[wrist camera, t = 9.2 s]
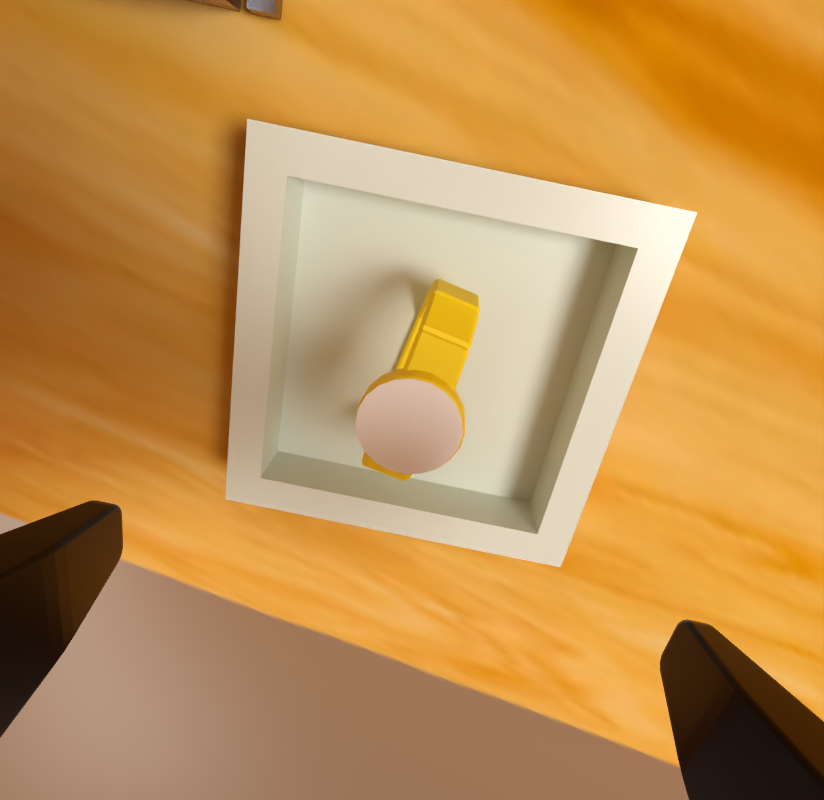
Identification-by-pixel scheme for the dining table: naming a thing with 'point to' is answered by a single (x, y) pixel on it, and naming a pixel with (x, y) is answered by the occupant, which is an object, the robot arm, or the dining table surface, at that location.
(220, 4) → the grey rectangular open frame
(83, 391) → the dining table surface
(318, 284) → the parts tray
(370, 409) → the watch
